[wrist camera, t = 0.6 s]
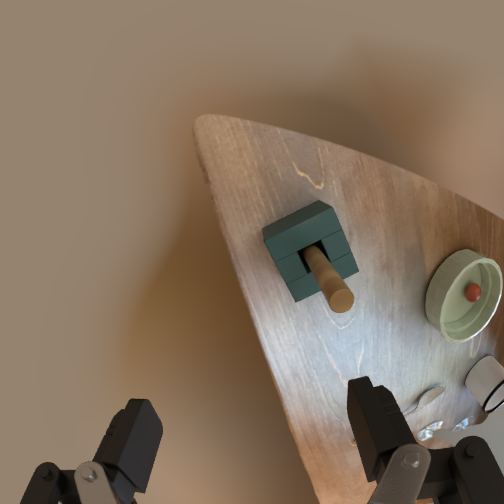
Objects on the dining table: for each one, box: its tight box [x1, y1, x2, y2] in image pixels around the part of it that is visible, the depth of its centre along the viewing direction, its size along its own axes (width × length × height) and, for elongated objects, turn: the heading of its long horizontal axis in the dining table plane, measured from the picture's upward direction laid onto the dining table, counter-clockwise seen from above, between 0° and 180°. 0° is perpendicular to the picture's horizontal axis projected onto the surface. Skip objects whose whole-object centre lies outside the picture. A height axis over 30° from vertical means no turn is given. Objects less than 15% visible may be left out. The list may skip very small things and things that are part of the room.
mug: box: [465, 356, 504, 414], centre depth 37 cm, size 12×10×9 cm
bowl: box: [425, 249, 503, 343], centre depth 33 cm, size 13×13×5 cm
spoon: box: [355, 386, 445, 443], centre depth 42 cm, size 4×21×2 cm, turn 131°
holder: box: [262, 200, 359, 302], centre depth 31 cm, size 7×7×6 cm
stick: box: [300, 243, 354, 313], centre depth 26 cm, size 2×2×16 cm
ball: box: [465, 283, 481, 303], centre depth 33 cm, size 3×3×3 cm
